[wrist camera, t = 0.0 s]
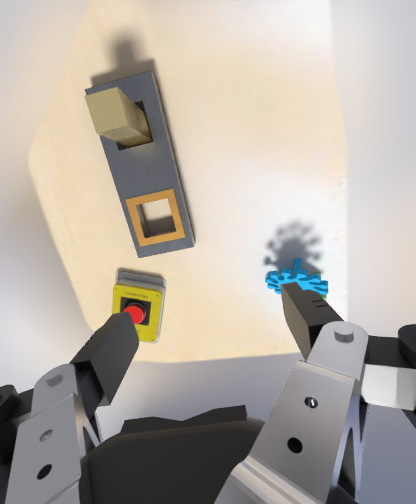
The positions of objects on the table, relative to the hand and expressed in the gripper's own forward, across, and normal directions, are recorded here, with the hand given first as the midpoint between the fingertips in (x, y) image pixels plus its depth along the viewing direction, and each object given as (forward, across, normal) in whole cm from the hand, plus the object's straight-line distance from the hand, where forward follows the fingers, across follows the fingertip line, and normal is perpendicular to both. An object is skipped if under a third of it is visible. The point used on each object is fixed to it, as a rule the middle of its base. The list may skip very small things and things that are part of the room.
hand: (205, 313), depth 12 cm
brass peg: (+29, +9, -17) cm, 35 cm away
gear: (+30, -12, +13) cm, 34 cm away
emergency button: (+30, +18, +14) cm, 38 cm away
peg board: (+29, +9, -10) cm, 32 cm away
